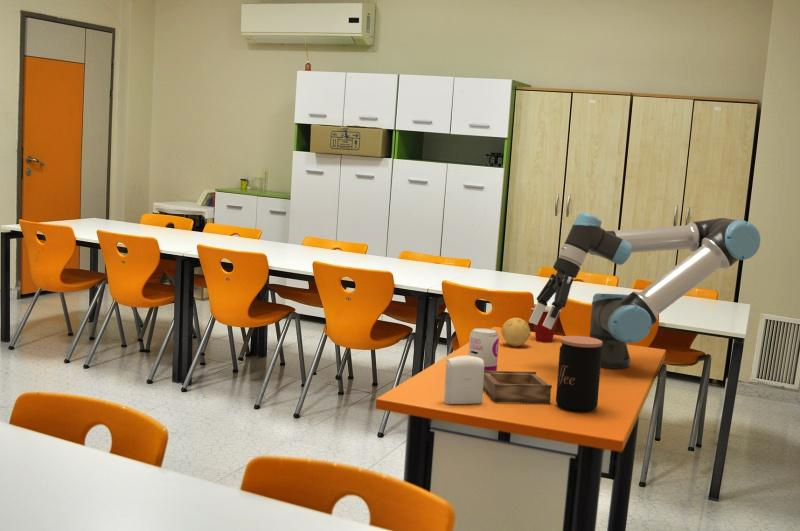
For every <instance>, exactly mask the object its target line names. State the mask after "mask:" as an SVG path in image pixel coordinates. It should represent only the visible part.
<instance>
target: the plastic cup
mask: <svg viewBox="0 0 800 531" xmlns="http://www.w3.org/2000/svg"><path fill="white" fill-rule="evenodd" d="M530 309H531V311H532V313H533V311H534V309H535V307H531V308H530ZM549 310H550V308H547V307H545V309H544V311H543V314H542V316H541V318H540V320H539V322H538V324H537V325H536V324H534V323H533V324H534V325H533V326H534V333H535V341H537V342H540V343H552V342H553V339H554V336H555V332H556V328H557V325H558V324H557V323H558V320H559V316H560V314H561V313H562V309H560V312H559V314H558V316H557V318H556V320H555V322H554V324H553V327H552V329H549V328H547V327H545V326H543V323H544V321H545V319H546V317H547V314H548V312H549Z"/></svg>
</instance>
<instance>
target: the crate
mask: <svg viewBox="0 0 800 531" xmlns="http://www.w3.org/2000/svg"><path fill="white" fill-rule="evenodd" d="M552 388H553V385H552V384H548V383H547V382H546V381H545V380H543V378H541V377H540V376H539V375H537V372H536V371H520V370H519V371H516V370H515V371H514V370H512V371H509V370H497V371H484V381H483V392H484V393H485V392H486V395H487V396H488V397H489V399H490V400H491V401H492V402H493V401H494V402H520V403H519V404H541V403H544V405H545V403H546V404H547V405H548V404H549V405H550V404H551V393H552ZM494 402H493V403H494ZM521 402H522V403H521Z"/></svg>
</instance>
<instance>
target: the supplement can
mask: <svg viewBox="0 0 800 531" xmlns="http://www.w3.org/2000/svg"><path fill="white" fill-rule="evenodd" d="M499 341H500V336H499V334H498V330H496V329H492V328H485V327H478V328H476V327H475V328H473V329H472V330H471V332H470V334H469V344H468V346H469V348H468V356H474V357H478V358H481V359H482V360H483V361H484V371H498V358H499V357H498V356H499V343H500V342H499Z"/></svg>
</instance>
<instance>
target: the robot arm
mask: <svg viewBox="0 0 800 531" xmlns="http://www.w3.org/2000/svg"><path fill="white" fill-rule="evenodd" d="M601 226H602V219H600V218H598V217H597V216H595V215H593V214H591V213H589V212H583V211H582V212H579V213H578V215H577V216H576V218H575V220H574V222H573V223H572V225H571V228H570V230H569V232H568V235H567V237H566V239H565V242H564V243H563V245H561V246H560V249H561V250H560V251H559V256H558V258H556V260H555V262H554V265H553V269H554V270H555V271H556V273H551V275H550V277H549V278H548V280H547V282H546V283H545V285H544V287H543V288H542V290H541V291H540V292H539V294H538V296H537V297H536V301H537V303H536V304H535V307H534V308H535V309H534V311H533V312H532V314H531V316H530V318H529V320H528V322H530V323H531V324H536V325H537V324H538V322H539V320H540V318H541V316H542V314H543V311H544V309H545V308H547V306H548V302H549V301H550V300H551V299H552V297H553V296H554V298H553V300H554V301H553V302H552V303H550V304H551V306H550V308H549V309H550V310H549V312H548V314H547V317H546V319H545V321H544V323H543V326H545V327H547V328H549V329H552V327H553V324H554V322H555V320H556V318H557V316H558V314H559V312H560V310H562V309H563V308H566V306H567V302H568V298H569V294H570V291H571V287H572V284H573V282H574V279H576V278H577V277H578V275H579V272H580V270H581V266H583V264H584V261H586V257H587V256H588V254H589V255H592V256H597V257H600V258H603V259H605V260H606V259H607V260H608V261H610V262H611V263H615V264H617V265H620V266H623V264H625V263H627V262H628V260H629V258H630V256H631V254H632V253H643V252H644V253H645V252H647V253H648V252H661V251H674V250H689V251H691V252H692V253H691V254H689V255H687V257H685V258H683V260H681V261H680V262H679V263H677V264H676V265H675V266H673V267H672V268H671V269H669V270H668V271H667V272H666V273H664V274H663V275H662V276H660V277H659V278H657V279H656V280H654V282H652V283H651V284H649V285H647V287H645V288H644V289H643V290H642V291H632V292H631V293H629V294H621V293H594V295H593V297H592V301H591V313H590V314H591V316H590V325H589V326H590V328H589V329H590V330H589V337H591V338H595V339H599V340H601V341H602V342H603V343H602V346H601V347H600V349H601V351H602V356H601V368H605V369H627V368H629V367H630V366H631V357H630V353H629V348H628V344H633V343H635V344H636V343H638V342H641V341H642V340H644V339H645V338H647V337H648V335H649V333H650V332H651V328H652V327H653V325H655V324H656V323H657V322H658V320H659V315H660V314H661V313H663V311H665V310H667V308H668V307H670V306H671V305H673V304H674V303H675V302H677V301H678V300H679V299H680V298H682V297H683V296H685V295H686V294H687V293H689V292H690V291H691V290H693V288H695V287H697V286H698V285H699V284H701V283H702V282H703V281H704V280H706V279H707V278H708V277H710V276H712V275H713V273H715V272H716V271H717V270H719V269H726V270H727V269H728V268H730V267H731V266H733V265H734V264H736V263H737V262H738V261H743V260H744V261H745V260H749V259H751V258H752V257H753V256H755V255H756V254H757V253H758V250H759V248H760V247H761V235H760V232H759V229H758V228H757V227H756V226H755V225H754V224H753V223H751V222H749V221H746V220H743V219H731V218H728V217H727V218H726V217H719V218H712V219H706V220H705V219H704V220H699V221H690V222H689V223H687V225H674V226H661V227H657V226H656V227H645V228H644V227H643V228H629V229H617V230H605V229H604V228H602V227H601ZM560 313H561V312H560ZM559 315H560V314H559ZM627 343H628V344H627Z"/></svg>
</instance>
